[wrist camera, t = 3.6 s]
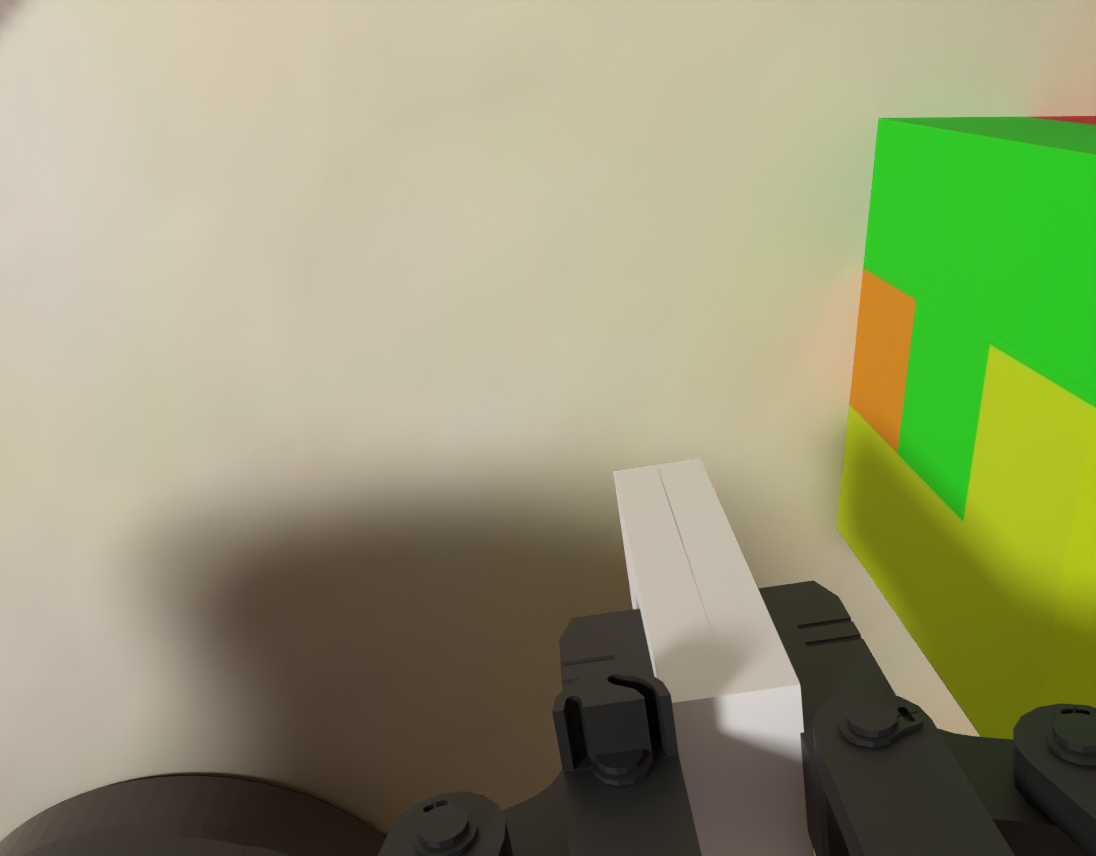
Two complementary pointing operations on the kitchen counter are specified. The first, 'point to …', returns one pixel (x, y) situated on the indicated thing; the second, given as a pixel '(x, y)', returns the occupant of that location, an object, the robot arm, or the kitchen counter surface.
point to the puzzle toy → (981, 406)
